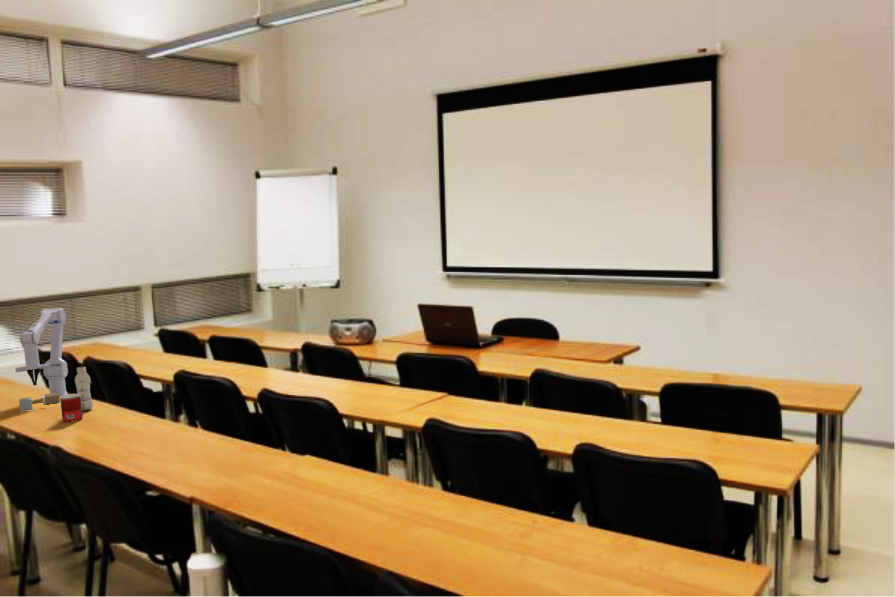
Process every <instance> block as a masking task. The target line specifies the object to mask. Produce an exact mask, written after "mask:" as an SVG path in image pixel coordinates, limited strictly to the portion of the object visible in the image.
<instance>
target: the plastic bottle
mask: <svg viewBox="0 0 895 597" xmlns="http://www.w3.org/2000/svg"><path fill="white" fill-rule="evenodd" d="M86 368H87V367H86V366H78V367H76V373H77V374H76V375H75V378H74V382H75V387H76V392H77V393H76V394H80V397H81V406H82V412H83V411H84V412H85V411H86V410H87V411H89V410H91V409H93V406H94V402H93V400H92V396H91V395H92V394H91V377H90V375H89V374H88V373H87V369H86Z"/></svg>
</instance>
